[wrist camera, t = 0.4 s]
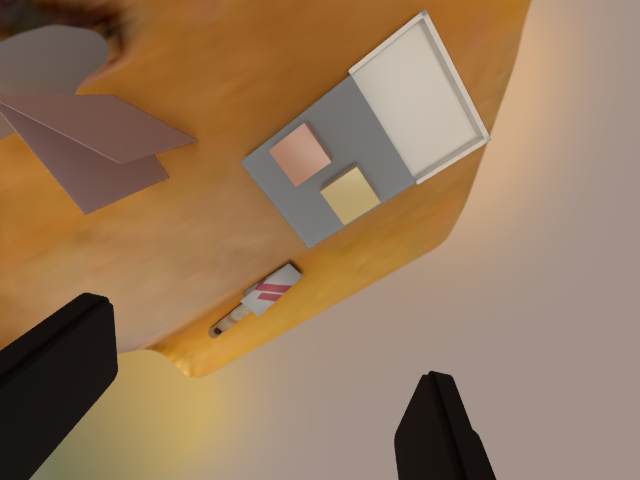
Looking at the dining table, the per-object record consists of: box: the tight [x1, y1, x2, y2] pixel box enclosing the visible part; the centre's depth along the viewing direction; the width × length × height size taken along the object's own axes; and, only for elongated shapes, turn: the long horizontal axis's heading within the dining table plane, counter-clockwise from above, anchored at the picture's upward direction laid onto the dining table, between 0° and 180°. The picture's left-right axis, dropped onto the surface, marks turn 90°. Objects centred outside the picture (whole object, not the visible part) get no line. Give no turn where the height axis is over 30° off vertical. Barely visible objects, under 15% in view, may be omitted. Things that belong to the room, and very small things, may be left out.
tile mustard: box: [320, 162, 381, 225], centre depth 37 cm, size 5×5×2 cm
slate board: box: [240, 75, 416, 249], centre depth 39 cm, size 14×16×3 cm
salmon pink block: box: [269, 121, 332, 187], centre depth 36 cm, size 5×5×2 cm
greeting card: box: [0, 95, 198, 215], centre depth 34 cm, size 11×7×15 cm, turn 27°
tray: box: [348, 9, 491, 184], centre depth 35 cm, size 15×9×2 cm, turn 36°
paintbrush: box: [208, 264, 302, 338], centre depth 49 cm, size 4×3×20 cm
